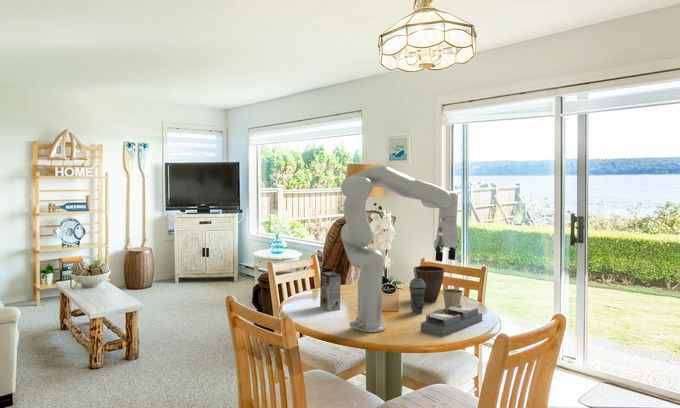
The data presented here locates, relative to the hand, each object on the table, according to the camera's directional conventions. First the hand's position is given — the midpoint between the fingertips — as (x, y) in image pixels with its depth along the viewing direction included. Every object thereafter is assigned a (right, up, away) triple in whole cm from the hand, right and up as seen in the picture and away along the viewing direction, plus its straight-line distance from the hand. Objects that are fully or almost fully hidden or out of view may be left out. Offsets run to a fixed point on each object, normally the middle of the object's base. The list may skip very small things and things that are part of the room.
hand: (445, 260), depth 194 cm
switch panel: (+1, -25, -10) cm, 27 cm away
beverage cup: (-11, -25, +8) cm, 28 cm away
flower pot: (+6, -24, +14) cm, 29 cm away
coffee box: (-50, -24, +15) cm, 57 cm away
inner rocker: (-4, -20, -15) cm, 26 cm away
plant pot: (-1, -24, +30) cm, 39 cm away
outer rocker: (+6, -20, -5) cm, 22 cm away
